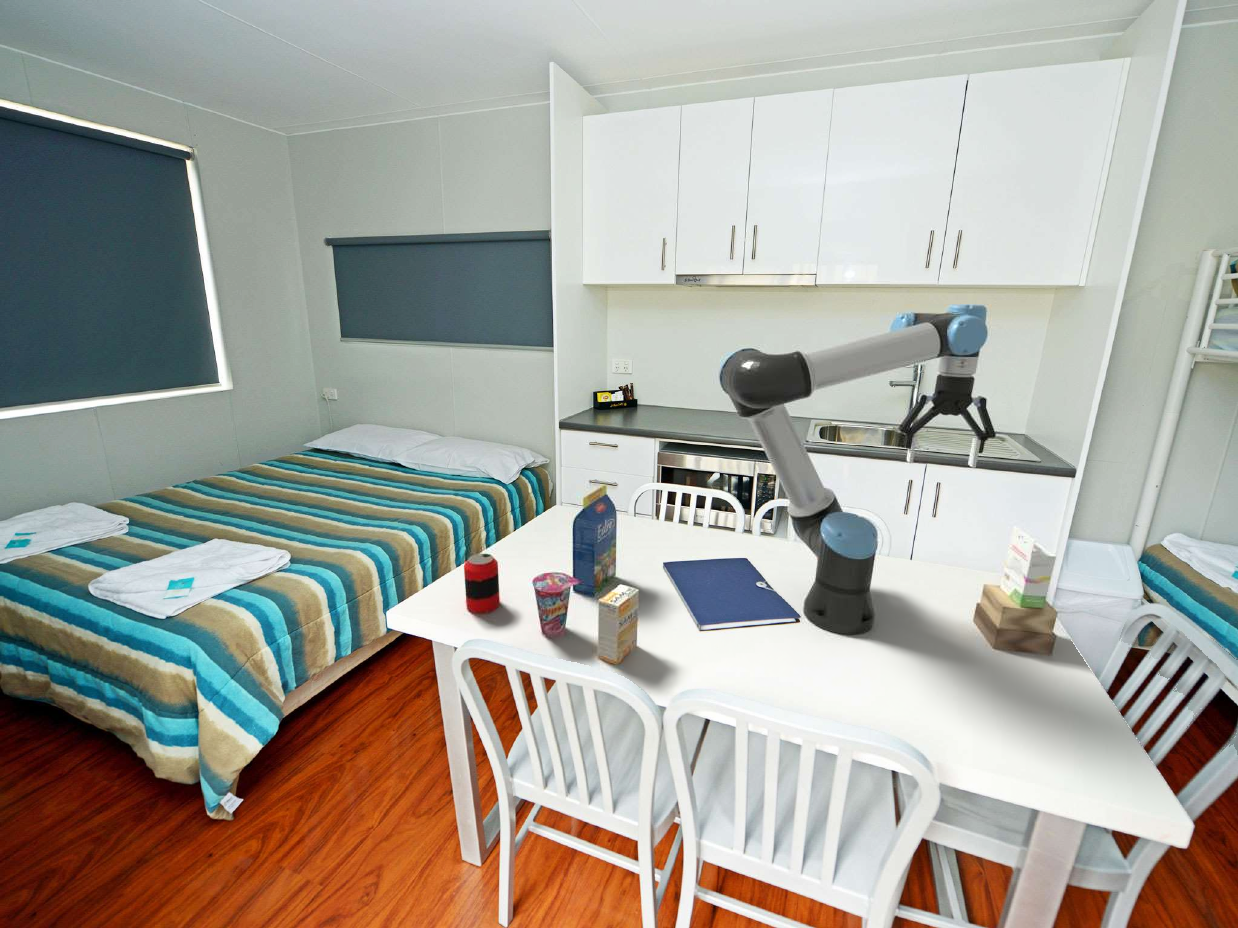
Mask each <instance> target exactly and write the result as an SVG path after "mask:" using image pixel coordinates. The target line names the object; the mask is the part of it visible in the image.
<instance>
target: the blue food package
mask: <svg viewBox="0 0 1238 928" xmlns="http://www.w3.org/2000/svg"><path fill="white" fill-rule="evenodd" d="M582 499H583V501H582V502H583V504H582V505H583V508H582V510H580V511H579V512H578V513H577V514H576V515H575V517H574V518H573V522H572V577H573V578H575V579H577V580H578V581H579V583H578V584H575V585H573V586H572V592H574V593H577V594H582V595H584V596H585V595H586V596H590V597H595V596H596V595H598V594H600V592H602V590H603V589H604V588H606V587H607V585H608V584H611V582H612V581H613V579H614V578H615V577H616V576H617V525H618V524H617V523H618V519H617V517H618V516H617V508H616V506H615V503H614V502H613V500H612V499H611V497H610V496H609V494H607V483H605V484H604V485H601V486H600V487H599V488H597V489H596V490H594V491H592V492H590V493H589V494H587V495H586V496H584V497H583V498H582Z"/></svg>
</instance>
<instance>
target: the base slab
mask: <svg viewBox="0 0 1238 928" xmlns="http://www.w3.org/2000/svg"><path fill="white" fill-rule="evenodd" d="M975 605H976V606H975V609H974V610H975V611H974V615H973V619H972V622H973V623H974V625H975V626H976V627H977V629H978V630H979V632H980V633H981V634H982V635H983V637H984V638H985V640H986V642H988V644H989V645H990V647H991V648H992V649H994V650H999V651H1000V650H1002V651H1008V652H1009V651H1010V652H1015V653H1016V652H1017V653H1026V654H1032V655H1033V654H1034V655H1043V656H1052V655H1053V652H1054V648H1055V644H1056V639H1057V634H1056V633H1055V632H1054V631H1053V633H1052V634H1047V633H1038V632H1029V631H1021V630H1012V629H1003V628H998V627H997V626H996V624H995V623H994V622H993V620H992V619H991V618H990V616H989V615H988V614H987V613H986V611H985V610H984V609H983V607H982V606H981V605H980V602H976V604H975Z"/></svg>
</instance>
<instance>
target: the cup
mask: <svg viewBox="0 0 1238 928" xmlns="http://www.w3.org/2000/svg"><path fill="white" fill-rule="evenodd" d="M531 583H532V587H533V588H534V589H533V590H534V594H535V599H536V600H535V601H536V606H537V613H538V619H539V625H540V629H541V634H542V635H543V636H544V637H546V638H552V639H553V638H560V637H561V636H563V635H564V634H565V633H566V628H567V627H566V625H567V619H568V610H569V603H570V597H571V595H570V593H571V587H573V585H575V584H578V583H579V581H578V580H577V579H575V578H573V576H571V575H570V574H567V573H564V572H558V571H557V572H556V571H552V572H544V573H541V574H538V575H536V576H535V577H534V578H533V579H532V582H531Z"/></svg>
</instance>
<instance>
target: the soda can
mask: <svg viewBox="0 0 1238 928" xmlns="http://www.w3.org/2000/svg"><path fill="white" fill-rule="evenodd" d="M463 571H464V573H463V574H464V587H465V589H464V590H465V602H466V603H465V604H466V609H467V610H468V611H469V612H471V613H473V614H480V615H481V614H488V613H491V612H493V611H495V610H496V609H497V608H498V607H500V604H501V601H500V582H499V581H500V580H499V563H498V560H497V559H495V557H494V556H493V555H492V554H489V553H476V554H473V555H471V556H469V557H468V559H467V560H466V561H465V563H464V565H463Z"/></svg>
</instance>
